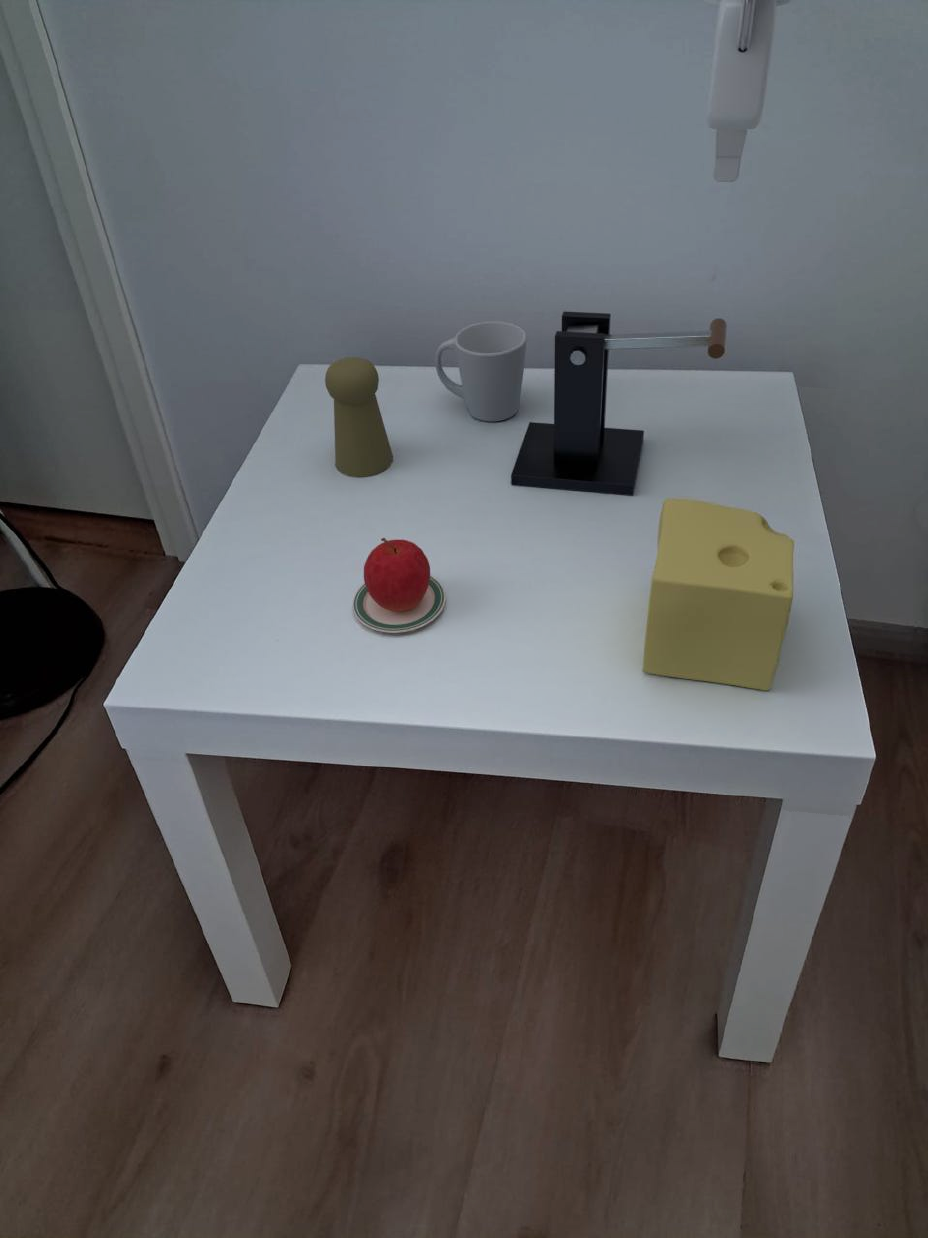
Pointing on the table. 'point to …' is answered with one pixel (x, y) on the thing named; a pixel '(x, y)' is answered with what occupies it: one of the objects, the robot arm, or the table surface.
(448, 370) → the table surface
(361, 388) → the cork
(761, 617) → the cheese
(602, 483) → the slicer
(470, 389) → the cup
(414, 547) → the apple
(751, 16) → the robot arm
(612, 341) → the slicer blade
